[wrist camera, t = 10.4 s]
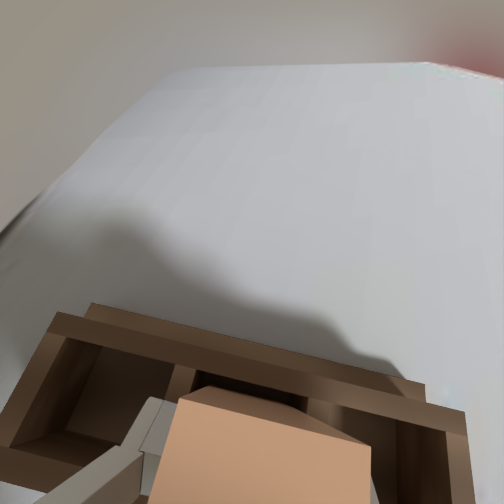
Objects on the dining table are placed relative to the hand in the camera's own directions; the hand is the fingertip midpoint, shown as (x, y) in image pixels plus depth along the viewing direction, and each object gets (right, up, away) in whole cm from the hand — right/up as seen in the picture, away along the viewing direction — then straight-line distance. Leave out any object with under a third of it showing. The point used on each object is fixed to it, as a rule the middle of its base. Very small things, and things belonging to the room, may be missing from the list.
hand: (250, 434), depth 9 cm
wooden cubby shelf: (-1, -4, +8) cm, 9 cm away
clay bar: (-1, -3, +5) cm, 6 cm away
